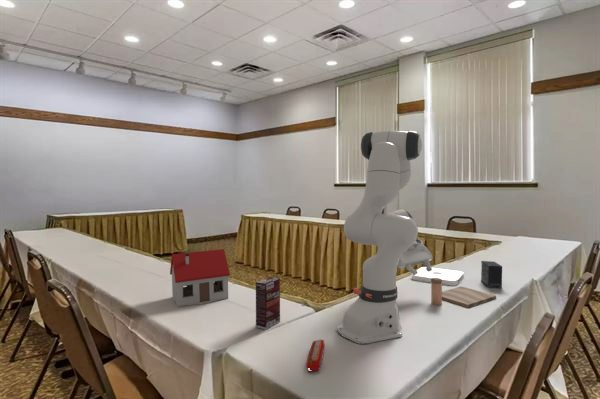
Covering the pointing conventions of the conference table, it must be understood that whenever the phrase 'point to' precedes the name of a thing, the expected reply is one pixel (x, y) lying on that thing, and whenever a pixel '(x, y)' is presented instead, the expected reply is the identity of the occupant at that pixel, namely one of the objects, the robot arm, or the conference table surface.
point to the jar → (436, 291)
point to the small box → (491, 274)
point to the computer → (439, 275)
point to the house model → (199, 277)
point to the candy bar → (315, 355)
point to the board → (466, 296)
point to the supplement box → (267, 302)
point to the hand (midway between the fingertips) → (423, 272)
